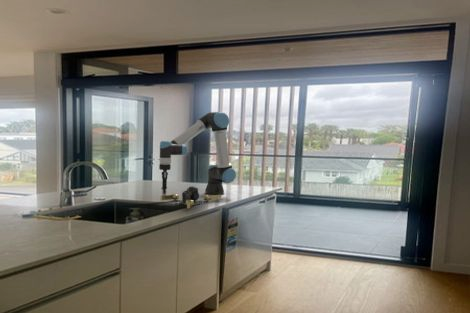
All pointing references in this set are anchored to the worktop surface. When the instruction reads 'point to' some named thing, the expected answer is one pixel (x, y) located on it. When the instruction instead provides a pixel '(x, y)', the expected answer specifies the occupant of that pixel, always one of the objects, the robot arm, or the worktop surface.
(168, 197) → the knob lever
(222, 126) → the robot arm
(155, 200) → the worktop surface
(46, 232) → the worktop surface
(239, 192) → the worktop surface
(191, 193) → the camera
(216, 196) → the tribrach
